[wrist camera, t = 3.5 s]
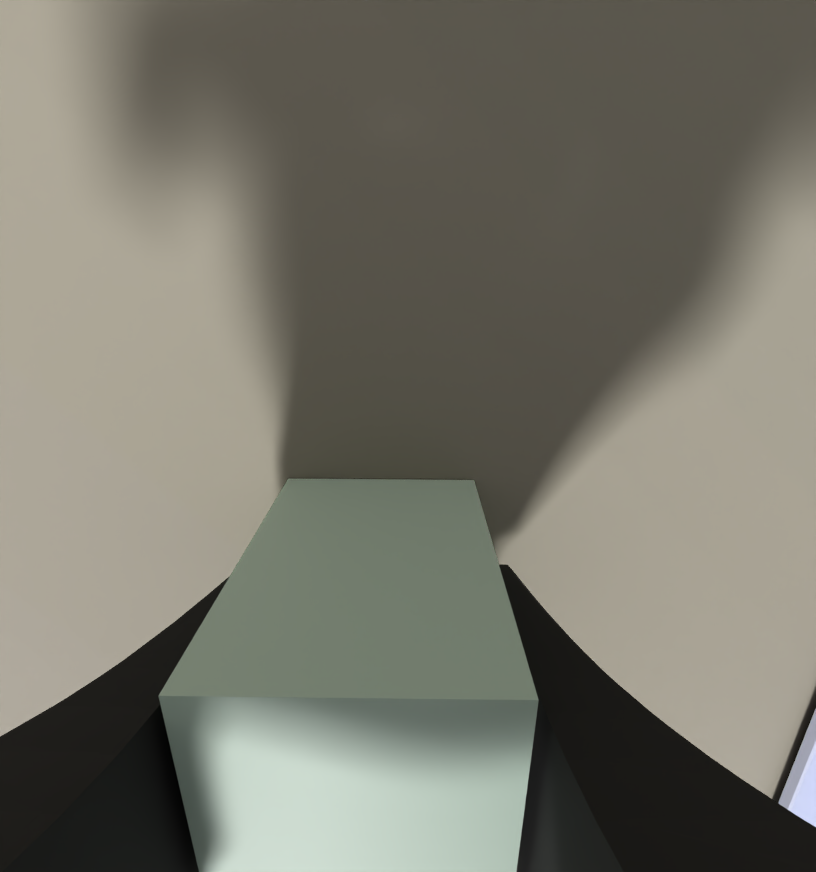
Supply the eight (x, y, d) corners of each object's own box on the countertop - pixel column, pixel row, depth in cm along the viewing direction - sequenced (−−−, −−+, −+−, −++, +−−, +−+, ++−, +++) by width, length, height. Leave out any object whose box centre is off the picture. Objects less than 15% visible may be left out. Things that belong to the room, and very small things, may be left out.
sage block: (473, 479, 11) (538, 700, 5) (465, 629, 12) (509, 925, 7) (288, 478, 11) (158, 695, 5) (301, 628, 13) (210, 922, 7)
